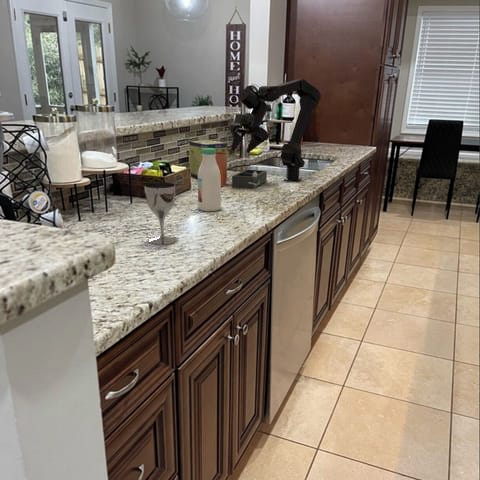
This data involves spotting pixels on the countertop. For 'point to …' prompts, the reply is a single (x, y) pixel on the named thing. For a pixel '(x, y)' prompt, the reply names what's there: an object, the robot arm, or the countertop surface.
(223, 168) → the tumbler
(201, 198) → the milk bottle
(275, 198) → the countertop surface
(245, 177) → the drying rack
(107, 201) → the countertop surface
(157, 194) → the wine glass
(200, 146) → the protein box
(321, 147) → the countertop surface
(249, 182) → the pacifier
